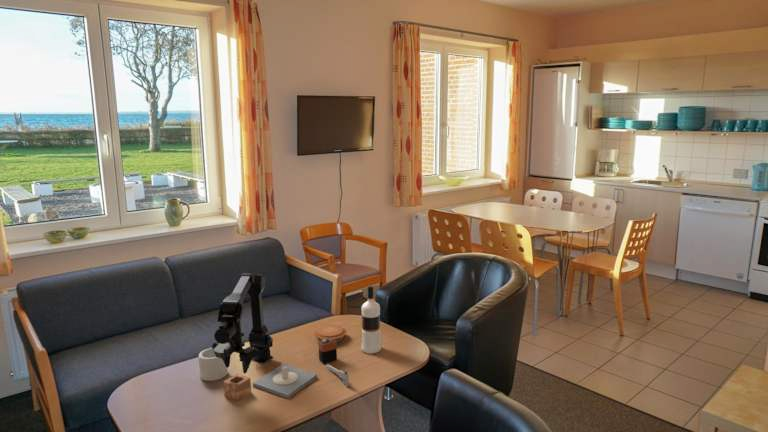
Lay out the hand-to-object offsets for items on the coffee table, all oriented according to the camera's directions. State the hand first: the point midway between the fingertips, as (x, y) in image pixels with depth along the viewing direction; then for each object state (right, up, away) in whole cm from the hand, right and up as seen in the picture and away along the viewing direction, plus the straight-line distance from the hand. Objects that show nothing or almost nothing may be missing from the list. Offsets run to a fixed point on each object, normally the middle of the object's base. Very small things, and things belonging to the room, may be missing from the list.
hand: (236, 370), depth 199 cm
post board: (+17, -8, +10) cm, 21 cm away
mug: (-15, -7, +17) cm, 24 cm away
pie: (+31, 0, +49) cm, 58 cm away
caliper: (+37, -7, +15) cm, 40 cm away
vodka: (+51, -2, +37) cm, 63 cm away
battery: (+32, -4, +28) cm, 43 cm away
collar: (0, -10, +2) cm, 10 cm away
